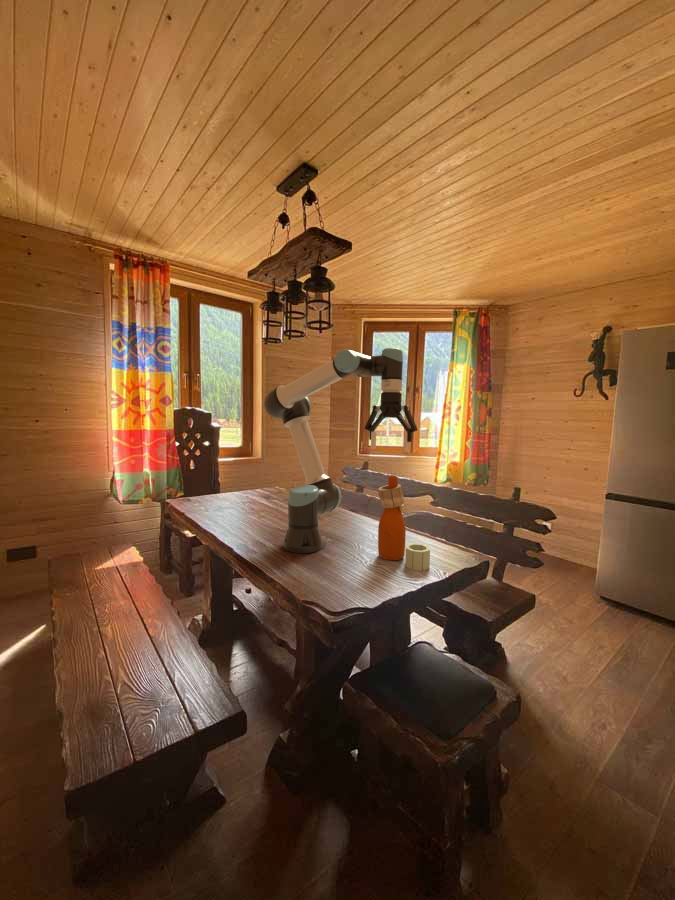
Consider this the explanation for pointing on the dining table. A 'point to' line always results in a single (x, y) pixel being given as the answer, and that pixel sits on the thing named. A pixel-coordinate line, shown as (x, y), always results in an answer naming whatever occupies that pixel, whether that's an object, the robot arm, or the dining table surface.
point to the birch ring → (391, 496)
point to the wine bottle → (392, 530)
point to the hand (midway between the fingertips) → (389, 449)
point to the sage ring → (417, 557)
